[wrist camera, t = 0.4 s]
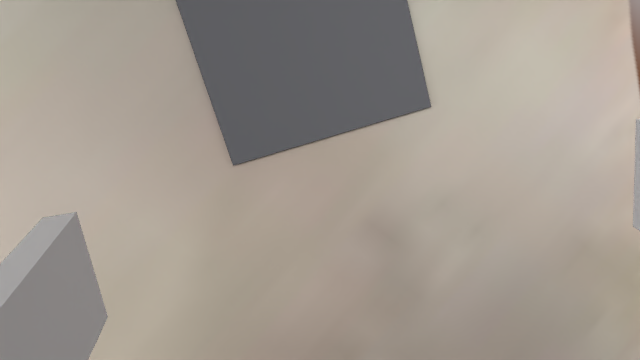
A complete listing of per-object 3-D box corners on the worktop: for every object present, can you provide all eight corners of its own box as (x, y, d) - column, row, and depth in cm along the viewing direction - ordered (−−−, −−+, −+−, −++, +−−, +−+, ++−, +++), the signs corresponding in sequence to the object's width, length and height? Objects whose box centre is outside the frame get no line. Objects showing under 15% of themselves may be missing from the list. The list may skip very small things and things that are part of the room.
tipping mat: (137, -112, 36) (133, -116, 35) (364, -181, 36) (368, -187, 35) (233, 164, 42) (232, 169, 40) (429, 105, 41) (434, 108, 40)
